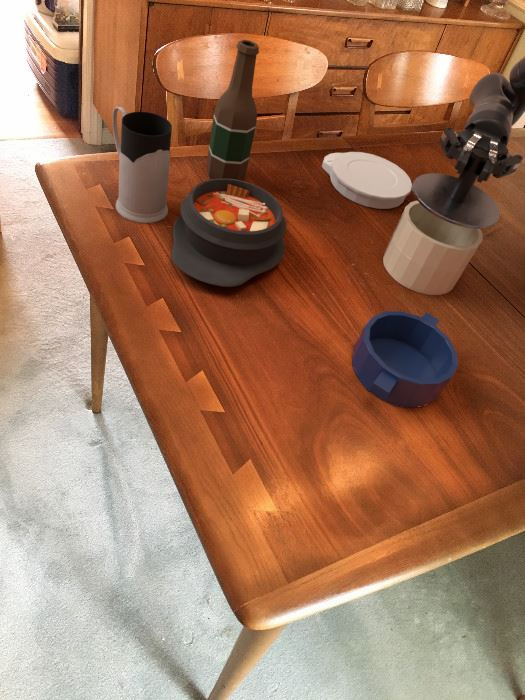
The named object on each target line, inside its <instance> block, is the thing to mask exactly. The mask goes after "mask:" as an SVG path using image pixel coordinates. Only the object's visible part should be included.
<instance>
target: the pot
mask: <svg viewBox="0 0 525 700" xmlns="http://www.w3.org/2000/svg"><path fill="white" fill-rule="evenodd" d="M482 242H483V232H482V229H473V228H466V227H461V226H458V225H455V224H452V223H449V222H447V221H445V220H442V219H441V218H439V217H437V216H435V215H433V214H432V213H430V212H429V211H428V210H426V209H425V208H424V207H423V206H422V205H421V204H420V203H419V202H418V201H417V200H414V201H410V202H409V203H408V204H407V205H406V206H405V207H404V210H403V212H402V214H401V216H400V218H399V220H398V222H397V224H396V227H395V229H394V231H393V233H392V235H391V238H390V240H389V242H388V244H387V246H386V249H385V250H384V254H383V256H382V262H383V266H384V268H385V270H386V272H387V273H388V275H389V276H390V277H391V278H392V279H393V280H395V281H396V282H397V283H398V284H400V285H402V286H403V287H405V288H406V289H409V290H411V291H413V292H415V293H419V294H423V295H427V296H428V295H429V296H441V295H445V294H448V293H449V292H451V291H452V290H453V289H454V288H455V286H456V284H457V283H458V281H459V280H460V278H461V276H462V275H463V273H464V272H465V270H466V269H467V267H468V265H469V264H470V262H471V261H472V259H473V257H474V256H475V254H476V252H477V251H478V249H479V247H480V245H481V244H482Z"/></svg>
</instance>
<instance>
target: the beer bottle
mask: <svg viewBox="0 0 525 700" xmlns="http://www.w3.org/2000/svg"><path fill="white" fill-rule="evenodd" d="M236 49H237V51H236V56H235V60H234V65H233V70H232V73H231V78H230V82H229V85H228V87H227V89H226V90H225V91H224V93H223V94H221V95H220V97H219V99H218V100H217V102H216V104H215V109H214V112H213V118H212V125H211V131H210V138H209V145H208V151H207V158H206V170H207V174H208V176H209V178H210V179H236V180H240V181H244V179H245V177H246V175H247V170H248V166H249V161H250V156H251V152H252V148H253V143H254V137H255V134H256V133H255V132H256V127H257V121H258V111H257V105H256V103H255V100H254V97H253V85H254V79H255V77H254V76H255V71H256V61H257V55H258V54H260V49H259V45H258V43H256V42H254V41H252V40H247V39H242V40H240V41H239V40H238V42H237V44H236Z"/></svg>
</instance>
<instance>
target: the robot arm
mask: <svg viewBox="0 0 525 700" xmlns="http://www.w3.org/2000/svg"><path fill="white" fill-rule="evenodd" d="M508 79H509V80H508ZM468 106H469V111H470V115H469V117H468V119H467V120H466V123H465V124H464V126H463V130H460V131H459V132H457V131H454V129H453V128H452V127H451V126H445V127H444V130H443V131H442V134H441V136H440V138H439V141H438V143H439V145H440V146H441V148H442V151H443V153H444V155H445V157H446V158H447V159H449V160H454V159H455V160H456V161H455V164H454V170H456V174H458V175H461V173H462V172H463V170H464V168H465V166H466V164H467V162H468V159H469V157H470V154H471V152H472V150H473V149H475V148H477V149H481V150H484V151H485V152H487V153H488V154H489V157H488V159H487V161H486V163H485V165H484V166H483V168H482V170H481V172H480V174H479V176H478V177H477V179H476V182H477V183H480V184H482V183H483V181H484V182H487V181H488V180H489V179H490V177H491V175H492V177H494V178H495V179H502V178H504V177H507V176H509V175H511V174H513V173H516V171H517V169H518V168H519V166H520V164H521V162H522V161H523V159H524V157H523V156H522V155H521V154H514V155H513V154H509V149H508V147H507V146H508V143H509V139H510V137H511V133H512V128H513V126H514V125H515V124H516V123H517V122H518V121H519V120H520V119H521V118H522V116H523V115H524V114H525V56H523V57H522V58H521V59H520V60H518V61H517V62H516V63H515V64H514V65H512V68H511V70H510V72H509V78H506V76H505V75H503V74H502V73H500V72H491V73H487V74H485V75H484V76H482V77H481V78H480V79H479V80H478V81H477V82H476V83H475V85H474V86H473V88H472V90H471V92H470V94H469V98H468Z"/></svg>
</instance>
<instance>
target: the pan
mask: <svg viewBox="0 0 525 700" xmlns="http://www.w3.org/2000/svg"><path fill="white" fill-rule="evenodd" d="M439 322H440V319H439V318H437V317H436V316H434V315H432V314H430V313H429V312H426V311H425V312H424V313H423V315H422V316H419V315H416V314H412V313H410V312H406V311H401V310H400V311H398V310H397V311H393V310H387V311H386V310H385V311H383V312H380V313H377V314H375V315H373V316H372V317H370V319H369V320H368V321H367V322H366V323H365V325H364V327H363V329H362V330H361V333H360V335H359V337H358V338H357V341H356V343H355V345H354V347H353V351H352V355H351V365H352V369H353V372H354V374H355V376H356V378H357V379H358V381H359V383H360V384H361V385H362V386H363V387H364V388H365V389H366V390H367V391H368V392H370V394H371V395H373V396H374V397H375V398H378V399H379V398H380V399H379V400H381V399H382V400H381V401H383V402H385V401H386V402H385V403H387V404H389V403H390V404H389V405H392V404H394V405H393V406H395V405H397V406H396V407H399V406H403V407H402V408H405V407H418V406H422V407H425V406H427V405H426V404H428V405H430V404H431V403H433V402H434V401H436V400H437V399H438V397H439V396H440V394H441V393H442V392H443V390H444V389H445V388H446V387H447V384H448V383H449V382H450V381H451V379H452V378H453V376H454V374H455V372H456V371H457V369H458V367H459V363H458V360H459V359H458V352H457V350H456V348H455V346H454V344H453V343H452V341H451V339H450V337H448V336H447V334H446V333H444V332H443V331H442V330H441V328H439V327H438V326H437V325H438V324H439ZM432 401H433V402H432ZM430 402H431V403H430ZM429 403H430V404H429ZM424 405H425V406H424ZM418 408H419V407H418Z"/></svg>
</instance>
